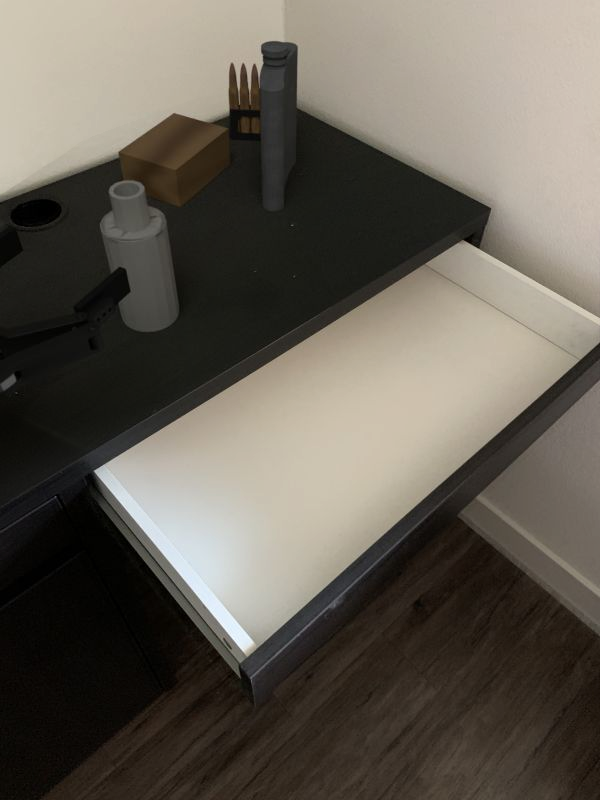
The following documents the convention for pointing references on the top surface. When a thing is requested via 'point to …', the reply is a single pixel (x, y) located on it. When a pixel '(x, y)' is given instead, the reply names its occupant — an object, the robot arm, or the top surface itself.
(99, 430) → the top surface
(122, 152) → the plinth
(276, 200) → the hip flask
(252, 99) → the ammunition clip
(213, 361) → the top surface
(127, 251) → the bottle
